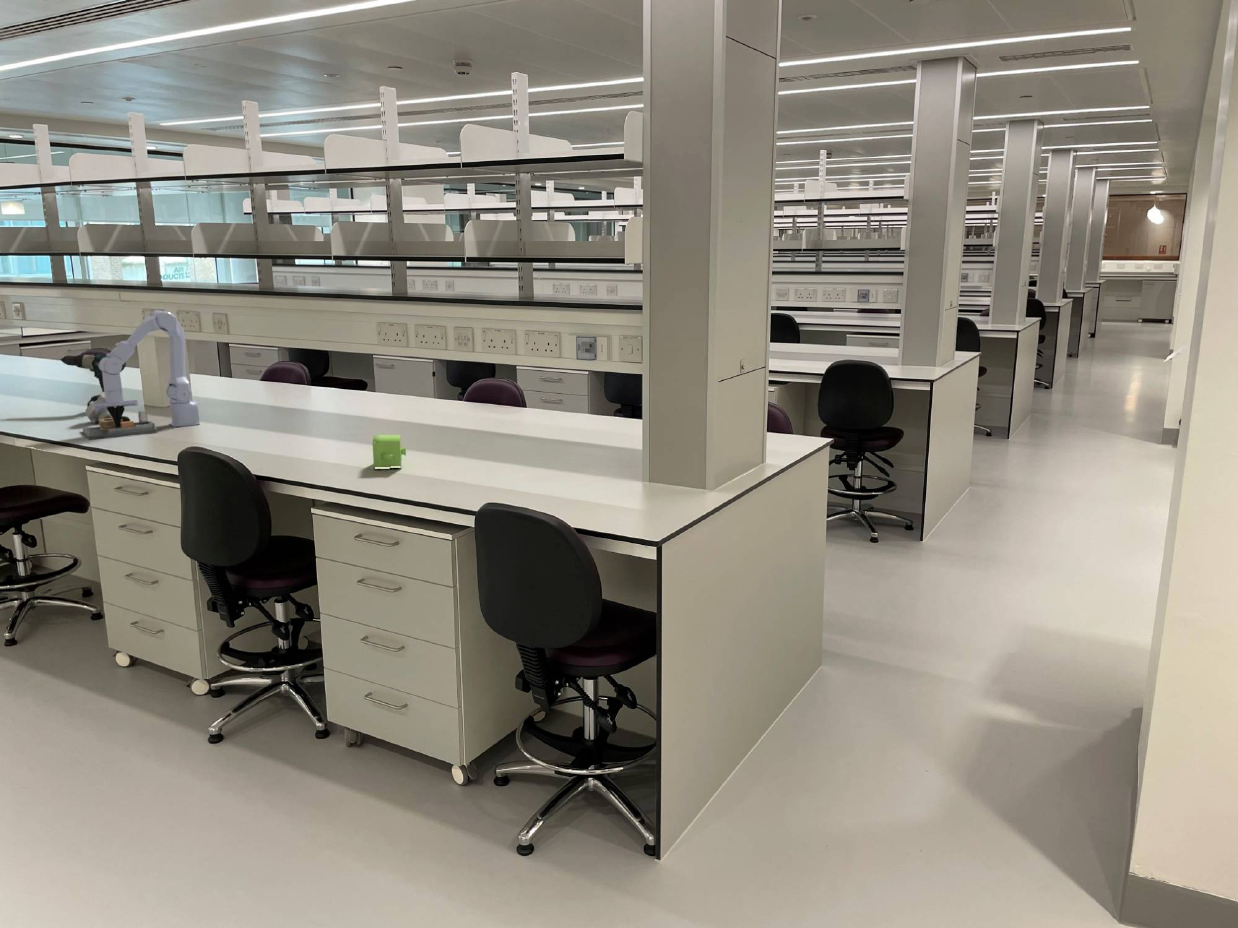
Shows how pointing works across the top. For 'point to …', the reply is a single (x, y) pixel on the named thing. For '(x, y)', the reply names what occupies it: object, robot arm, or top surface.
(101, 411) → the mechanical valve
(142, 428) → the slate board
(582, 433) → the top surface
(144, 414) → the cylinder
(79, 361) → the power drill
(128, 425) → the orange rectangular block
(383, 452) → the gearbox
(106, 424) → the frame
